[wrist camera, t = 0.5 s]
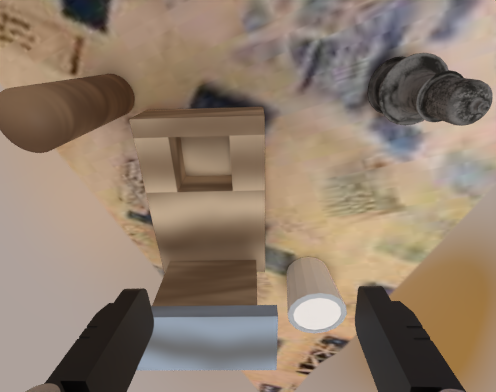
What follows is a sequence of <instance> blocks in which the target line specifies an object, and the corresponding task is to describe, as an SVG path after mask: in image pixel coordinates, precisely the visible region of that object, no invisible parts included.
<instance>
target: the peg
mask: <svg viewBox="0 0 496 392" xmlns="http://www.w3.org/2000/svg"><path fill="white" fill-rule="evenodd" d="M133 106H134V93H133V91H132V88H131V87H130V85H129V84H128V83H127V82H126V81H125V80H124V79H123V78H121V77H120V76H117V75H114V74H105V75H98V76H91V77H84V78H77V79H70V80H63V81H56V82H49V83H42V84H35V85H28V86H21V87H14V88H8V89H5V90H3V91H2V92H0V130H1V131H2V133H3V134H4V135H5V136H6V137H7V138H8V139H9V140H10V141H11V142H12V143H14V144H15V145H17V146H18V147H20V148H22V149H24V150H27V151H30V152H35V153H44V152H48V151H50V150H52V149H54V148H57V147H59V146H61V145H63V144H65V143H67V142H69V141H71V140H73V139H75V138H77V137H79V136H82V135H84V134H86V133H88V132H90V131H92V130H94V129H96V128H98V127H100V126H102V125H105V124H107V123H109V122H111V121H113V120H115V119H117V118H119V117H121V116H123V115H125V114H127V113H129V112H130V111H131V110H132V108H133Z"/></svg>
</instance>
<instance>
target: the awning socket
mask: <svg viewBox="0 0 496 392" xmlns="http://www.w3.org/2000/svg"><path fill="white" fill-rule="evenodd" d="M129 121H130V125H131V130H132V134H133V138H134V143H135V147H136V151H137V156H138V160H139V165H140V169H141V173H142V178H143V182H144V186H145V191H146V195H147V200H148V204H149V208H150V213H151V217H152V221H153V226H154V230H155V235H156V239H157V243H158V248H159V252H160V256H161V261H162V265H163V270H164V273H165V275H164V278H163V280H162V283H161V285H160V288H159V290H158V293H157V295H156V298H155V300H154V303H153V305H152V306H151V309H152V313H153V317H154V329H153V333H152V336H151V338H150V341H149V343H148V345H147V347H146V350H145V352H144V354H143V356H142V359H141V361H140V363H139V365H138V367H137V370H276V366H277V330H278V313H277V305H257V272H265V115H264V110H263V107H234V108H200V109H166V110H146V111H144V112H142V113H140V114H138V115H137V116H135V117H133V118H131V119H129Z"/></svg>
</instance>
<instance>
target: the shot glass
mask: <svg viewBox="0 0 496 392" xmlns="http://www.w3.org/2000/svg"><path fill="white" fill-rule="evenodd" d="M287 305H288V318H289V322H290V323H291V324H292V325H293V326H294V327H295V328H296V329H299V330H301V331H303V332H308V333H321V332H327V331H329V330H331V329H334V328H336V327H337V326H338V325H339V324H341V323H342V322H343V320H344V318H345V316H346V314H347V312H346V305H345V303H344V301H343V299H342V297H341V295H340V293H339V291H338V289H337V287H336V285H335V283H334V281H333V279H332V277H331V275H330V273H329V270H328V268H327V266H326V265H325V264H324V262H323V261H321V260H319V259H317V258H314V257H304V258H299V259H297V260H296V261H294V262H293V263H292V264H291V265H290V266H289V267H288V270H287Z"/></svg>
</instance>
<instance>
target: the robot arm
mask: <svg viewBox="0 0 496 392" xmlns="http://www.w3.org/2000/svg"><path fill="white" fill-rule="evenodd" d="M355 327H356V332H357V336H358V339H359V341H360V344H361V346H362V350H363V352H364V355H365V358H366V360H367V363H368V365H369V368H370V371H371V374H372V376H373V379H374V382H375V384H376V387H377V390H378V392H466V391H465V389H464V388H463V387H462V385H461V384H460V382H459V381H458V379H457V378H456V376H455V375H454V373H453V372H452V370H451V369H450V367H449V366H448V364H447V363H446V361H445V359H444V358H443V356H442V355H441V353H440V352H439V351H438V349H437V347H436V346H435V345H434V343H433V341H431V340H430V337H429V335H428V334H427V332H426V331H425V329H423V328H422V325H421V323H420V322H419V320H418V319H417V317H416V316H415V314H414V313H413V312H412V311H411V310H410V309H408V308H407V307H406V306H405V305H404V304H403V303H401V302H400V301H391V300H390V298H389V296H388V295H387V293H386V291H385V290H384V288H383V287H382V286H360V287H359V288H358V295H357V304H356V313H355ZM153 329H154V317H153V313H152V309H151V305H150V301H149V297H148V293H147V291H146V289H124V290H123V291H122V292H121V293H120V295H119V296H118V298H117V299H116V300H115V302H114V303H109V304H108V305H106V306H105V307H104V308H103V309H101V310H100V311H99V312H98V313H97V314H96V315H95V316H94V317H93V319H92V320H91V321H90V323H89V324H88V325H87V328H86V329H85V330H84V331H83V332H82V334H81V335H80V336H79V339H77V340H76V342H75V343H74V345H73V346H72V347H71V349H70V350H69V351H68V353H67V354H66V355H65V357H64V358H63V359H62V361H61V362H60V364H59V365H58V366H57V367H56V369H55V370H54V372H53V373H52V374H51V376H50V377H49V378H48V380H47V381H46V382H45V383H44V384H41V385H38V386H35V387H33V388H31V389H29V390H27V391H26V392H127V389H128V387H129V385H130V383H131V381H132V379H133V376H134V374H135V371H136V370H137V367H138V365H139V363H140V361H141V359H142V356H143V354H144V352H145V350H146V347H147V345H148V343H149V341H150V338H151V336H152V333H153Z"/></svg>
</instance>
